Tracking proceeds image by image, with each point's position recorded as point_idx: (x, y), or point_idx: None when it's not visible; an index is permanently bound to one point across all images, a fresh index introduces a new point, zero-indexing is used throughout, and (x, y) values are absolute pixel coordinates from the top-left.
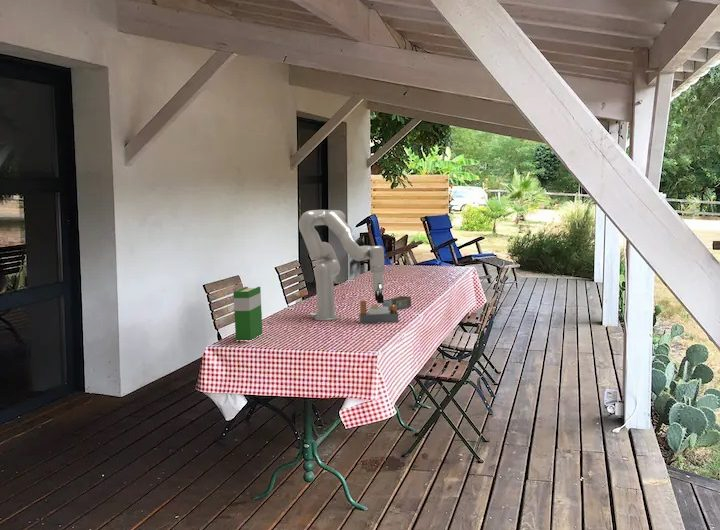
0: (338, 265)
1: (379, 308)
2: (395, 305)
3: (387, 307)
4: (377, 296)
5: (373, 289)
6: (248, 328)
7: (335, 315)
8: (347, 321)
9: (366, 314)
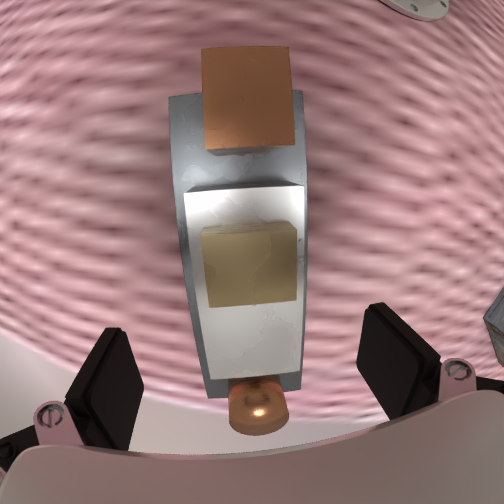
0: None
1: (199, 307)
2: (239, 430)
3: (248, 374)
4: (72, 391)
5: (247, 487)
6: None
7: (437, 16)
8: (308, 34)
9: (209, 155)
